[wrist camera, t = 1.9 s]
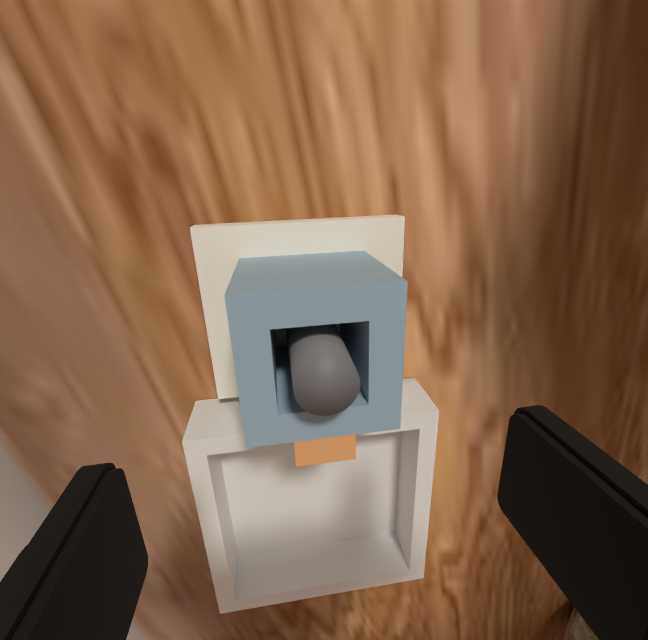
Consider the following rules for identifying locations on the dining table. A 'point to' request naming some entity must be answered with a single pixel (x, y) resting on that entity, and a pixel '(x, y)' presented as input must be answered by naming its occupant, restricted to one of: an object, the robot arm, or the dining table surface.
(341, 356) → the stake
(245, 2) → the dining table surface
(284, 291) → the collar
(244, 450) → the tray
